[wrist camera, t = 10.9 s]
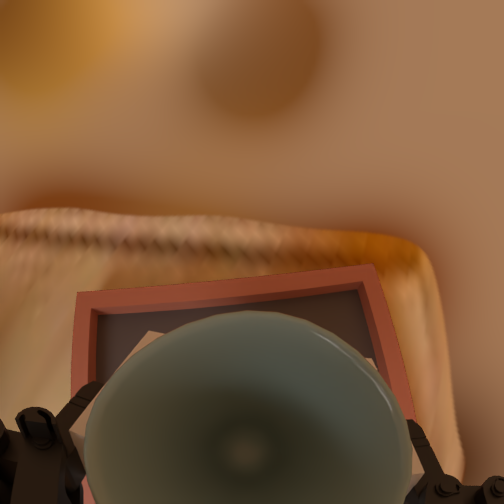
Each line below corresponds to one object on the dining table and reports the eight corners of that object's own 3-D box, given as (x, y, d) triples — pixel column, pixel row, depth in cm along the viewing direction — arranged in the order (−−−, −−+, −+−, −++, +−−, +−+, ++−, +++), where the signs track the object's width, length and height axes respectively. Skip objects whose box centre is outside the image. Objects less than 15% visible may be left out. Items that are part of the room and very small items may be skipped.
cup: (143, 423, 14) (33, 400, 6) (262, 351, 17) (285, 253, 8) (226, 535, 11) (210, 637, 2) (347, 456, 13) (463, 468, 5)
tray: (91, 306, 20) (77, 292, 18) (362, 279, 22) (373, 263, 20) (113, 570, 10) (100, 581, 8) (413, 533, 12) (430, 540, 10)
